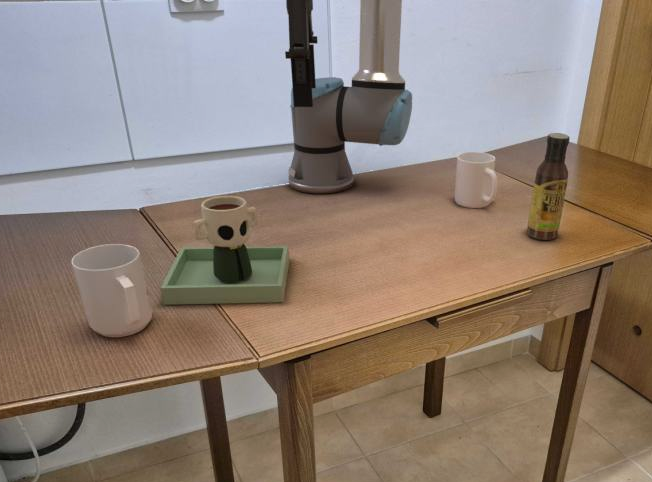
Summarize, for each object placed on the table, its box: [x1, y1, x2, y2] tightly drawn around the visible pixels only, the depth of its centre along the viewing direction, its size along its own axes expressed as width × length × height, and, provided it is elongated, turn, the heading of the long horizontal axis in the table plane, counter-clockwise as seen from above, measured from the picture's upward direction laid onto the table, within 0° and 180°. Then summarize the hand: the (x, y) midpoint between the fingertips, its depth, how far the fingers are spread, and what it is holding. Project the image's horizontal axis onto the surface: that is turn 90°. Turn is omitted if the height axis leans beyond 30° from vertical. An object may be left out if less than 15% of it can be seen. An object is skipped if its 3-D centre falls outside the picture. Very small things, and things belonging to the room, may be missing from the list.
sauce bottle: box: [526, 132, 571, 241], centre depth 124 cm, size 6×6×20 cm
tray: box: [160, 245, 290, 306], centre depth 108 cm, size 16×19×3 cm
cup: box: [454, 151, 498, 209], centre depth 141 cm, size 8×12×10 cm
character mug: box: [192, 195, 258, 282], centre depth 105 cm, size 11×7×13 cm, turn 130°
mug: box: [70, 243, 153, 338], centre depth 92 cm, size 12×9×11 cm
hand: (305, 96), depth 100 cm, fingers open, 13 cm apart
